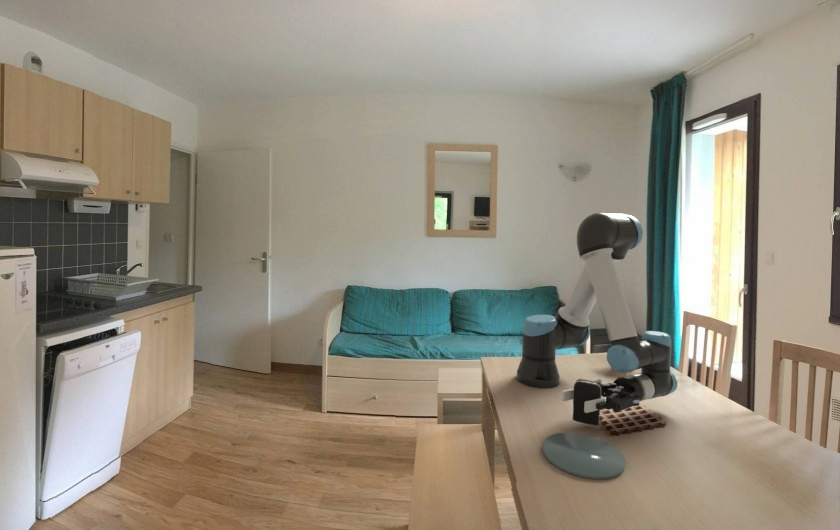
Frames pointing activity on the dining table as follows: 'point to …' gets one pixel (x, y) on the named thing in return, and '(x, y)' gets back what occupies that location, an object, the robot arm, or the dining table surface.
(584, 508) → the dining table surface
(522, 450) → the dining table surface
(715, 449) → the dining table surface
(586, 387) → the battery charger
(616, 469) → the dish
